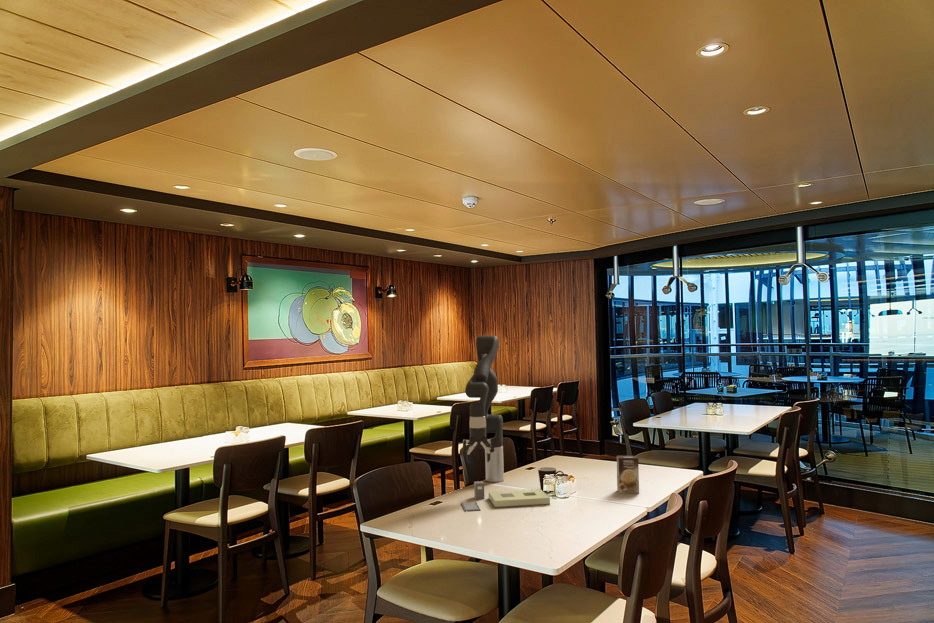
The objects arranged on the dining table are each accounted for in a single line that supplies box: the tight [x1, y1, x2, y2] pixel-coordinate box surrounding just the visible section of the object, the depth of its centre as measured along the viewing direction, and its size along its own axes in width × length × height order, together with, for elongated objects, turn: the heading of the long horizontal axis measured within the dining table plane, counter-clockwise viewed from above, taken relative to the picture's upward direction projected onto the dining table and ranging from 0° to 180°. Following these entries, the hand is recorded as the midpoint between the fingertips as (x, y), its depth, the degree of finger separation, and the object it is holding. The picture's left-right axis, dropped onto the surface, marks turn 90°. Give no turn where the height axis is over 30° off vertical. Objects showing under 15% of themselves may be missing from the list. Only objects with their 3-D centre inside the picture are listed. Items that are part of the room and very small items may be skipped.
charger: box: [473, 480, 485, 500], centre depth 272 cm, size 4×4×7 cm
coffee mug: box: [537, 466, 565, 491], centre depth 283 cm, size 12×9×10 cm
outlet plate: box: [488, 488, 551, 509], centre depth 265 cm, size 16×24×3 cm, turn 97°
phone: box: [460, 501, 481, 512], centre depth 258 cm, size 13×7×1 cm, turn 8°
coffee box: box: [616, 455, 640, 494], centre depth 278 cm, size 9×6×16 cm
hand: (478, 462), depth 273 cm, fingers open, 8 cm apart
